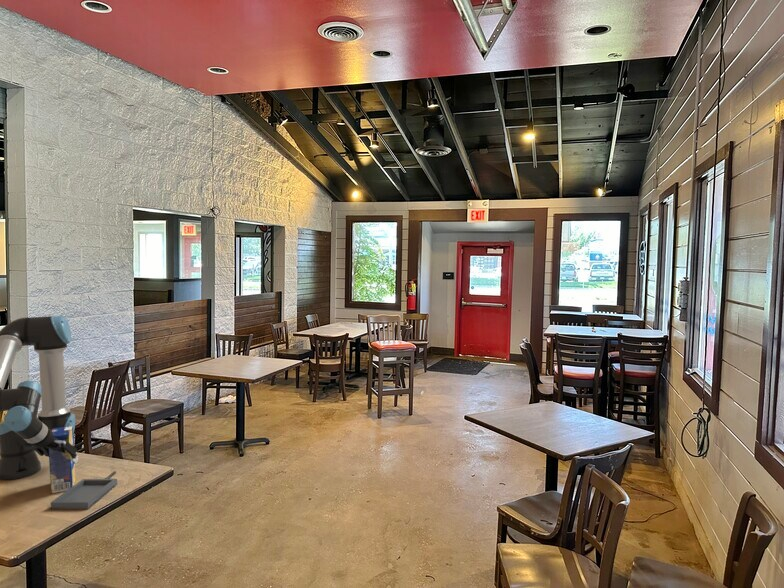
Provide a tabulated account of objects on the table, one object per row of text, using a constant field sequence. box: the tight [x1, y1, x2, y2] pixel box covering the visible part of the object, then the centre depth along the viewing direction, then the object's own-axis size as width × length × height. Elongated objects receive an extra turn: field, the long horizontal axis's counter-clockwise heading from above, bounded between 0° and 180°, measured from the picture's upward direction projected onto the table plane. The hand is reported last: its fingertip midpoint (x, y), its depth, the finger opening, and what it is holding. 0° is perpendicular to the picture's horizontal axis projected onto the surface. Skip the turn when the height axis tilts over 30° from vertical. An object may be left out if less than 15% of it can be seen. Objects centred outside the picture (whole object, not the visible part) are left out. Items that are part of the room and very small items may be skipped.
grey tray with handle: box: [50, 470, 118, 510], centre depth 201 cm, size 30×13×2 cm, turn 0°
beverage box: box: [48, 426, 77, 494], centre depth 204 cm, size 7×11×22 cm, turn 25°
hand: (68, 460), depth 207 cm, fingers open, 6 cm apart
